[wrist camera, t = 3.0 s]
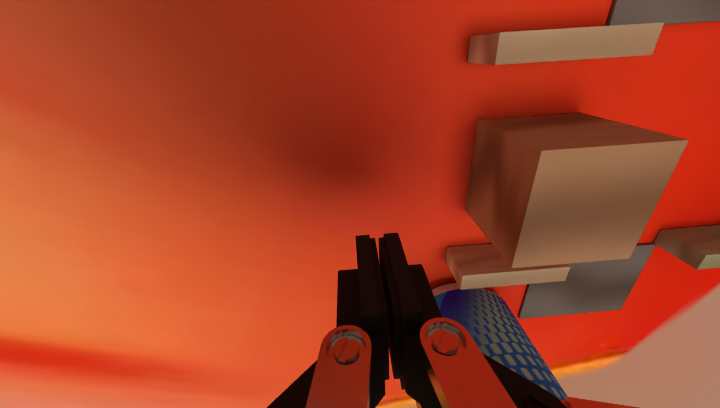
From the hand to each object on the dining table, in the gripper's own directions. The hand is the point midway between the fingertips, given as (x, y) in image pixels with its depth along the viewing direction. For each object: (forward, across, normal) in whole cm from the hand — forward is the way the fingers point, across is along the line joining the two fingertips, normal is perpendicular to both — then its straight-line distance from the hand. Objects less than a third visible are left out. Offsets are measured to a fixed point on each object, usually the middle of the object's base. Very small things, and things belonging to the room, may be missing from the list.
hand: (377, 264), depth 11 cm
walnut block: (+8, -10, -1) cm, 12 cm away
